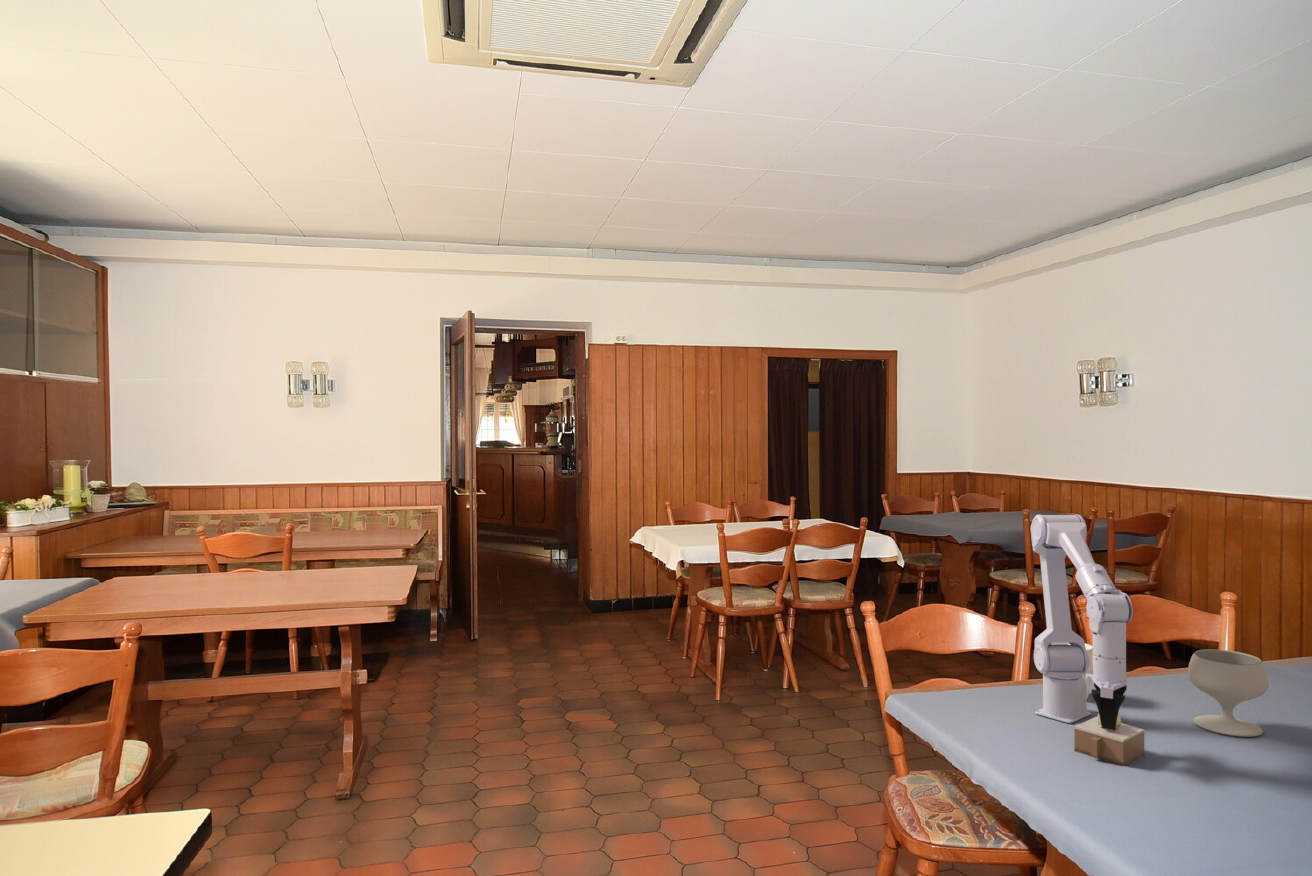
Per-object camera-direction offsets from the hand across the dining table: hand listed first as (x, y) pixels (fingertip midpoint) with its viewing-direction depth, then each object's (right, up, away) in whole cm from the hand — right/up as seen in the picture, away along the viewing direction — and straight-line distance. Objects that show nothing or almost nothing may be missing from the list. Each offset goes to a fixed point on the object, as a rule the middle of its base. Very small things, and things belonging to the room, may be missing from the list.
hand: (1109, 724), depth 160 cm
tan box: (0, -5, 0) cm, 5 cm away
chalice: (+32, -5, +13) cm, 35 cm away
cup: (+10, -5, +34) cm, 35 cm away
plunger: (0, -5, 0) cm, 4 cm away
